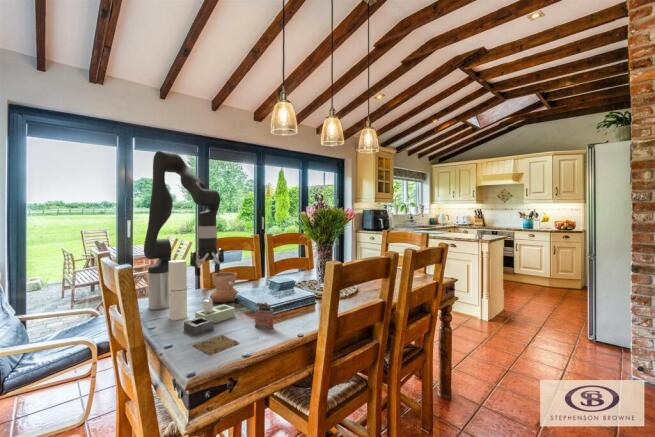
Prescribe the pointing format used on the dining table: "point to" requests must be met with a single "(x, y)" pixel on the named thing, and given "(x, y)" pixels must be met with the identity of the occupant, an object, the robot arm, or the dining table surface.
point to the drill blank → (208, 306)
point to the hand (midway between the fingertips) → (207, 274)
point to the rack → (218, 313)
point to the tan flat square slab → (215, 344)
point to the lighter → (264, 316)
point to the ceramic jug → (224, 287)
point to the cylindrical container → (177, 289)
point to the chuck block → (198, 325)
